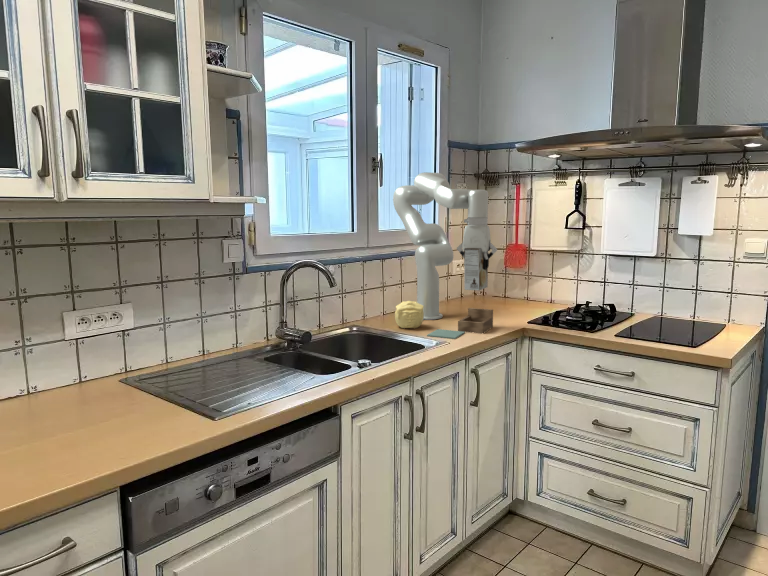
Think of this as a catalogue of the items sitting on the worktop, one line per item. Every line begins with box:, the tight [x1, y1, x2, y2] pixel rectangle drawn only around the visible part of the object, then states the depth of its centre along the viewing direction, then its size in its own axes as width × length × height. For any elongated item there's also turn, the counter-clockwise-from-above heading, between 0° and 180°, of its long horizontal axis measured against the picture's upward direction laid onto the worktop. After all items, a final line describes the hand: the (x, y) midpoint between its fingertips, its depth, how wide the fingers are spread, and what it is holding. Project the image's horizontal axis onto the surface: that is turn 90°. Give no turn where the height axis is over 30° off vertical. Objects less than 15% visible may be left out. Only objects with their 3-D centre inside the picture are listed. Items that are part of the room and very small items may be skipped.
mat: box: [426, 328, 466, 340], centre depth 211 cm, size 11×11×1 cm
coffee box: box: [463, 248, 489, 291], centre depth 217 cm, size 9×6×16 cm
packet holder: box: [457, 307, 494, 334], centre depth 220 cm, size 10×13×7 cm
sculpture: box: [394, 300, 424, 329], centre depth 224 cm, size 11×12×11 cm
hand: (476, 268), depth 217 cm, fingers closed on coffee box, 6 cm apart
